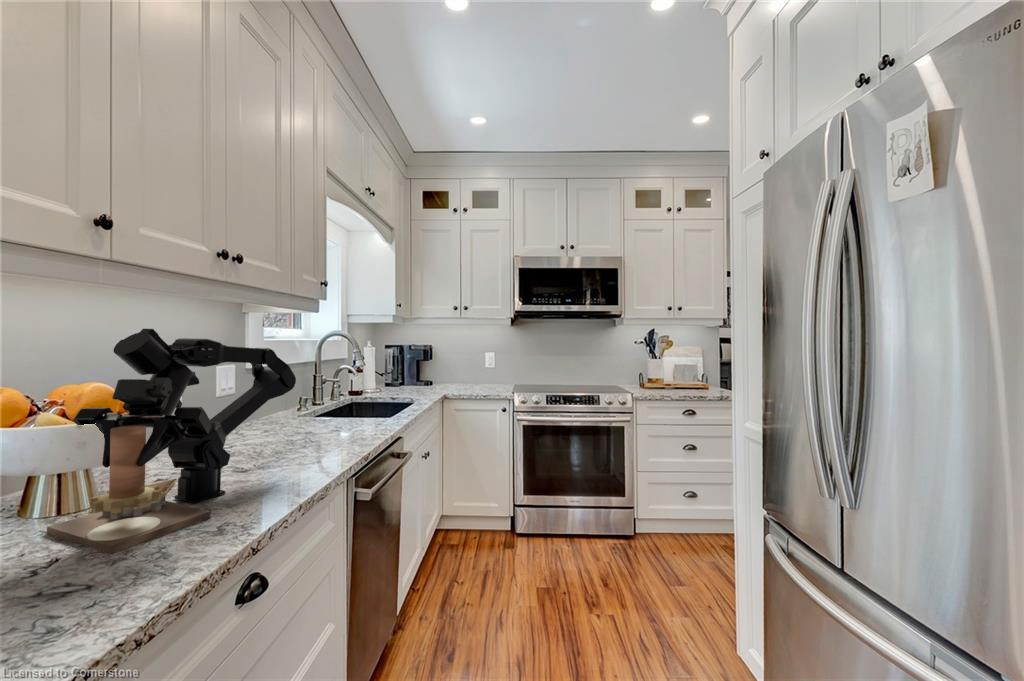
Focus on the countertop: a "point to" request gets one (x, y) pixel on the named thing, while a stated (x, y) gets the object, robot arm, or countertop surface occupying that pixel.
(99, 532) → the gear board
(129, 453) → the gear spindle
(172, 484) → the shard
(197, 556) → the countertop surface
